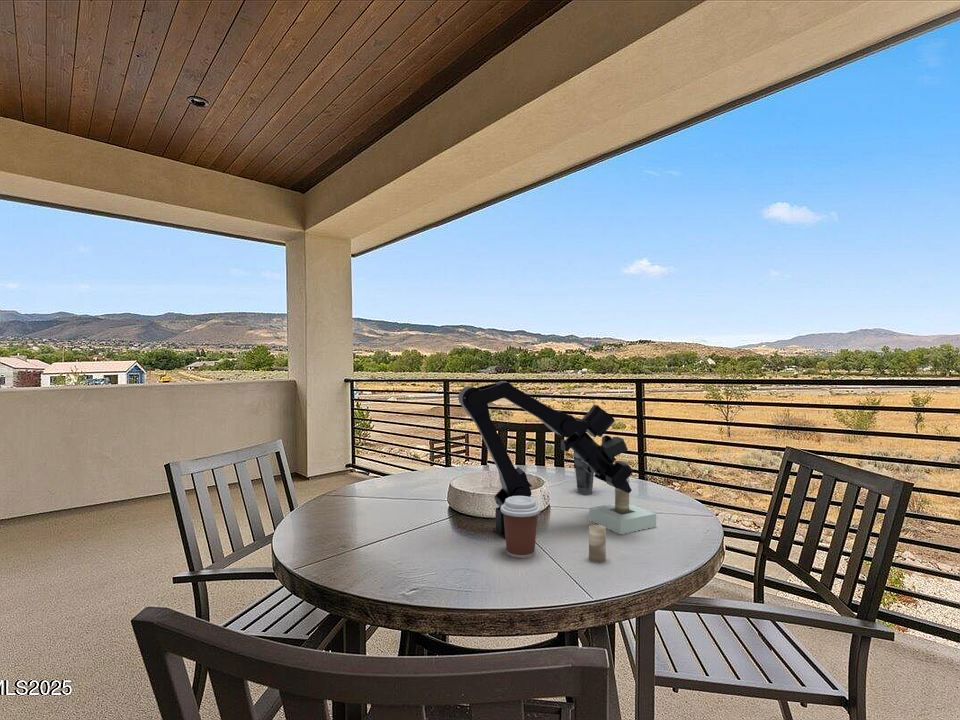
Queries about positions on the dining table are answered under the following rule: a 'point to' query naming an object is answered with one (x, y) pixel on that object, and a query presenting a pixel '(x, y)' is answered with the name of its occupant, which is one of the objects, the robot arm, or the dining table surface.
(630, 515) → the collar block
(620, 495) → the tall pin
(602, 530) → the short pin
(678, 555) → the dining table surface
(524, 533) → the coffee cup
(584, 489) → the beverage cup
